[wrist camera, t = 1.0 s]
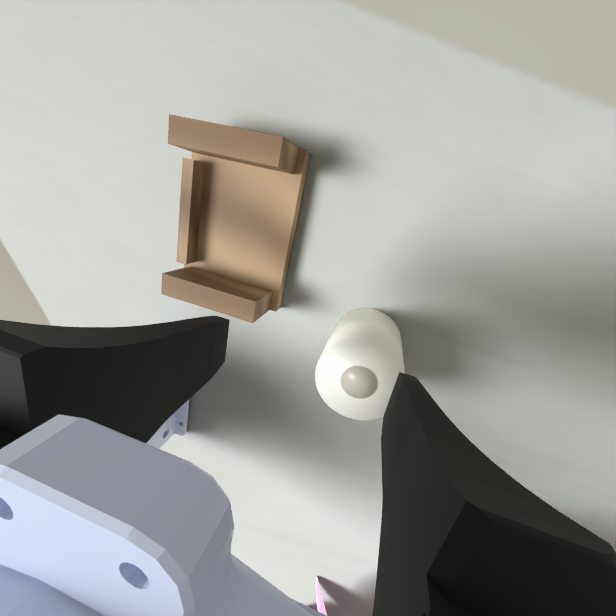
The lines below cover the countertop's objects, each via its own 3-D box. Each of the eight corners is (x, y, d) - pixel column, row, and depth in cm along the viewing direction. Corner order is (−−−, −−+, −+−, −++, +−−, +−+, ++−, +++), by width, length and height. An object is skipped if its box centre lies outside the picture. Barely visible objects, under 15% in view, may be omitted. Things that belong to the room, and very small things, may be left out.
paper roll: (389, 378, 22) (389, 433, 17) (326, 358, 23) (306, 403, 18) (410, 319, 21) (419, 358, 15) (342, 299, 21) (325, 329, 16)
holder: (280, 307, 23) (259, 325, 19) (190, 280, 24) (155, 291, 21) (310, 153, 19) (291, 138, 15) (202, 131, 21) (161, 113, 17)
